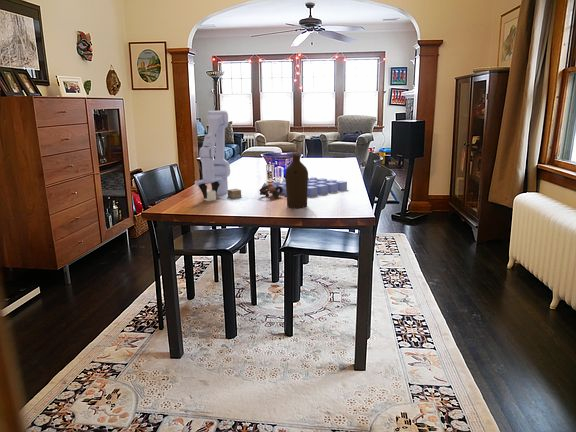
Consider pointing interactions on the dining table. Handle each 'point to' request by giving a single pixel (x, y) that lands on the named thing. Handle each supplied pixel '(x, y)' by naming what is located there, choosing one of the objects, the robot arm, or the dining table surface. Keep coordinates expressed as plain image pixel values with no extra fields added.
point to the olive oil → (296, 183)
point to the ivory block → (211, 195)
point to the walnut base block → (234, 193)
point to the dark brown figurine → (272, 189)
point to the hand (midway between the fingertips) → (209, 197)
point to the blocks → (316, 186)
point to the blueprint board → (235, 198)
